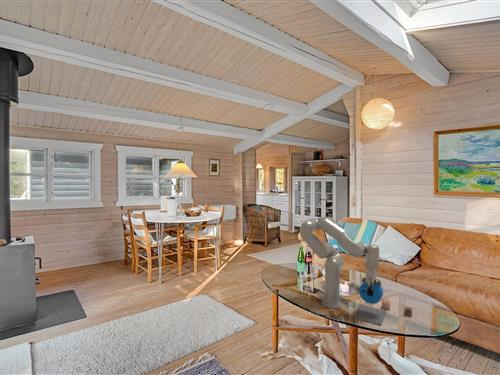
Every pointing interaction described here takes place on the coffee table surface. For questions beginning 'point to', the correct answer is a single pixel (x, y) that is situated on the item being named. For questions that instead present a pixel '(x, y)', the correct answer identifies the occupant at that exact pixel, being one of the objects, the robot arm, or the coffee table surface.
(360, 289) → the alarm clock
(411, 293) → the coffee table surface
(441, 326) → the coffee table surface
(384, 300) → the tan egg shape
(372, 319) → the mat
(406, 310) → the walnut block
